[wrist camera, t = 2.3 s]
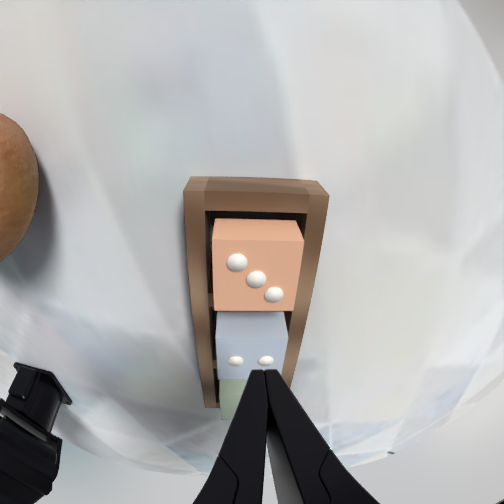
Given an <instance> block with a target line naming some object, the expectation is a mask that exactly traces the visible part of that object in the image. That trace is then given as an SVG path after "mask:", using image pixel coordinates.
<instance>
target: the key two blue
mask: <svg viewBox="0 0 504 504" xmlns="http://www.w3.org/2000/svg"><path fill="white" fill-rule="evenodd" d="M287 343H288V332H287V327H286V322H285V317H284V312H233V311H217V323H216V354H217V370H218V379H248V377H249V374H250V372H251V370H253V369H262V370H265V369H277V370H278V371H279V373H280V374H281V373H282V368H283V363H284V358H285V353H286V348H287Z"/></svg>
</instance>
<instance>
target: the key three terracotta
mask: <svg viewBox="0 0 504 504" xmlns="http://www.w3.org/2000/svg"><path fill="white" fill-rule="evenodd" d="M303 248H304V239H303V237H302V234H301V232H300V229H299V227H298V225H297V222H296V221H294V220H261V219H215V223H214V229H213V236H212V263H213V293H214V310H218V311H293V310H294V304H295V298H296V292H297V286H298V280H299V274H300V267H301V261H302V254H303Z"/></svg>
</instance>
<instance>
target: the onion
mask: <svg viewBox="0 0 504 504" xmlns="http://www.w3.org/2000/svg"><path fill="white" fill-rule="evenodd" d="M38 184H39V174H38V165H37V160H36V156H35V153H34V151H33V148H32V146H31V143H30V141H29V139H28V137H27V135H26V133H25V132H24V130H23V129H22V128H21V127H20V126H19V125H18V124H17V123H16V122H15V121H13V120H12V119H10V118H8V117H7V116H5V115H3V114H1V113H0V261H1V260H3V259H4V258H5V257H7V256H8V255H9V254H10V253H11V252H12V251H13V250H14V248H15V247H16V246H17V245H18V244H19V243H20V242H21V240H22V238H23V236H24V234H25V232H26V230H27V228H28V226H29V224H30V222H31V220H32V217H33V214H34V212H35V209H36V201H37V197H38Z"/></svg>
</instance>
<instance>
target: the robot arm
mask: <svg viewBox="0 0 504 504" xmlns="http://www.w3.org/2000/svg"><path fill="white" fill-rule="evenodd" d="M13 366H14V368H15V369H16V370H17V374H16V376H15V378H14V380H13V383H12V385H11V387H10V389H9V391H8V392H9V395H8V397H7V400H6V402H5V401H4V400H3V399H2V398H0V413H1V414H2V415H3V416H4V417H3V418H2V417H1V416H0V504H34V503H35V502H37V501H38V500H39V499H40V498H42V497H43V496H44V495H48V494H49V493H50V492H51V491H52V482H53V481H54V480H55V478H56V476H57V474H58V470H59V463H60V454H61V447H62V439H60V438H59V437H56V436H54V435H52V434H51V430H52V427H53V424H54V421H55V418H56V416H57V413H58V410H59V407H60V405H61V403H64V404H67V405H71V403H72V401H71V400H70V399H69V397H68V396H67V394H66V393H65V392H64V390H63V389H62V387H61V386H60V384H59V383H58V381H57V380H56V378H55V377H54V375H53V374H52V373H50V372H48V371H44V370H40V369H37V368H33V367H29V366H26V365H23V364H19V363H16V362H15V363H14V365H13ZM266 442H267V448H268V453H269V458H270V464H271V469H272V474H273V479H274V484H275V489H276V494H277V499H278V504H380V503H379V502H378V501H376V500H375V499H374V498H373V497H372V496H371V495H370V494H369V493H368V492H367V491H366V490H365V489H364V488H363V487H362V486H361V485H360V484H359V483H358V482H357V481H356V480H355V478H354V477H353V476H352V475H351V474H350V473H349V472H348V471H347V470H346V468H345V467H344V466H343V465H342V463H341V462H340V461H339V459H338V458H337V457H336V455H335V454H334V452H333V451H332V450H331V449H330V447H329V446H328V444H327V443H326V441H325V440H324V438H323V437H322V436H321V434H320V433H319V431H318V430H317V428H316V427H315V425H314V424H313V422H312V421H311V420H310V418H309V417H308V415H307V414H306V412H305V411H304V409H303V408H302V406H301V405H300V403H299V402H298V400H297V399H296V397H295V396H294V394H293V393H292V391H291V390H290V388H289V387H288V385H287V384H286V382H285V380H284V379H283V377H282V376H281V374H280V373H279V371H278V370H277V369H265V370H262V369H253V370H251V372H250V374H249V377H248V380H247V382H246V385H245V388H244V390H243V393H242V396H241V398H240V401H239V404H238V406H237V409H236V411H235V414H234V417H233V419H232V422H231V424H230V427H229V429H228V432H227V434H226V437H225V439H224V442H223V444H222V447H221V449H220V452H219V454H218V455H219V456H218V457H217V459H216V461H215V464H214V466H213V468H212V471H211V473H210V475H209V477H208V479H207V481H206V483H205V484H204V486H203V488H202V490H201V491H200V493H199V494H198V496H197V498H196V499H195V501H194V502H193V504H262V495H263V482H264V468H265V453H266ZM329 449H330V450H329ZM496 504H504V499H503V500H501V501H499V502H498V503H496Z"/></svg>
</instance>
